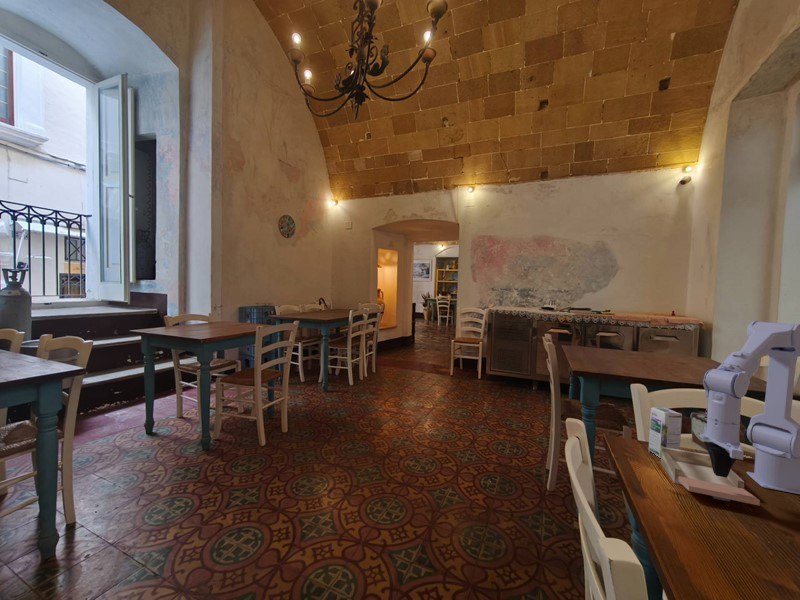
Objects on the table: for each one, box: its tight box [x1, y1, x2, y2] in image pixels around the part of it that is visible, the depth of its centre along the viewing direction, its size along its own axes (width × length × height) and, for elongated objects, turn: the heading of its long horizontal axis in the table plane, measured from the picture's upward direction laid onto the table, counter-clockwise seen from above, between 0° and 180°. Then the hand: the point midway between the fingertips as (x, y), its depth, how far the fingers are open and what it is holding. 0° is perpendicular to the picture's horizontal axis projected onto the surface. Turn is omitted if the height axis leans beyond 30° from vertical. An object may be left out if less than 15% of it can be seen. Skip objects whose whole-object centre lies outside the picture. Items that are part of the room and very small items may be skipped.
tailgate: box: [678, 476, 761, 506], centre depth 83 cm, size 13×2×7 cm
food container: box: [690, 411, 711, 453], centre depth 112 cm, size 12×6×10 cm, turn 168°
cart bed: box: [660, 447, 745, 489], centre depth 93 cm, size 14×12×5 cm
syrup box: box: [648, 406, 683, 459], centre depth 106 cm, size 6×6×14 cm
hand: (720, 475), depth 82 cm, fingers closed
